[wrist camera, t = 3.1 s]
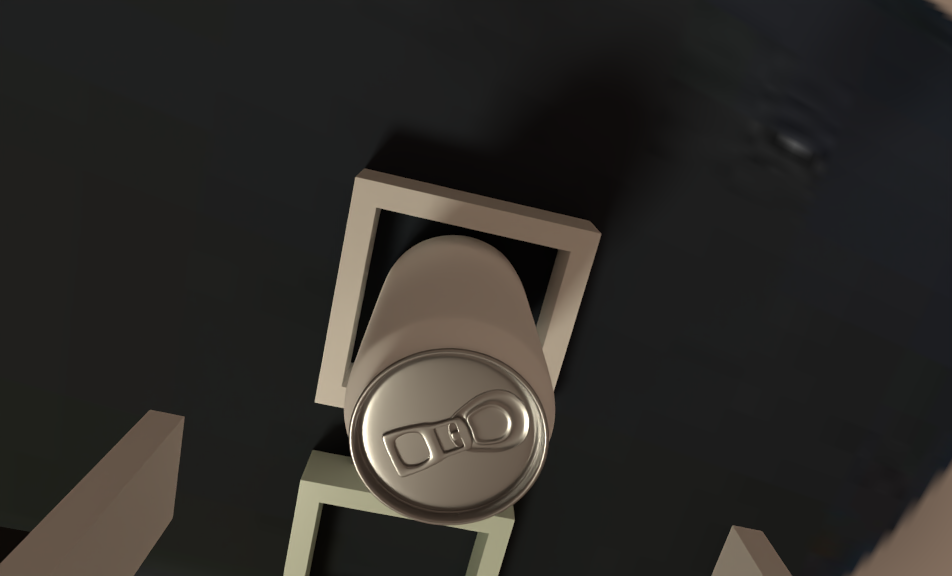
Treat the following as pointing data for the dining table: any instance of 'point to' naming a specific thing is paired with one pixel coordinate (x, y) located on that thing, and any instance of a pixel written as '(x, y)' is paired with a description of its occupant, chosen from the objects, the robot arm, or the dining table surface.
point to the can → (450, 387)
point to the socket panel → (372, 192)
